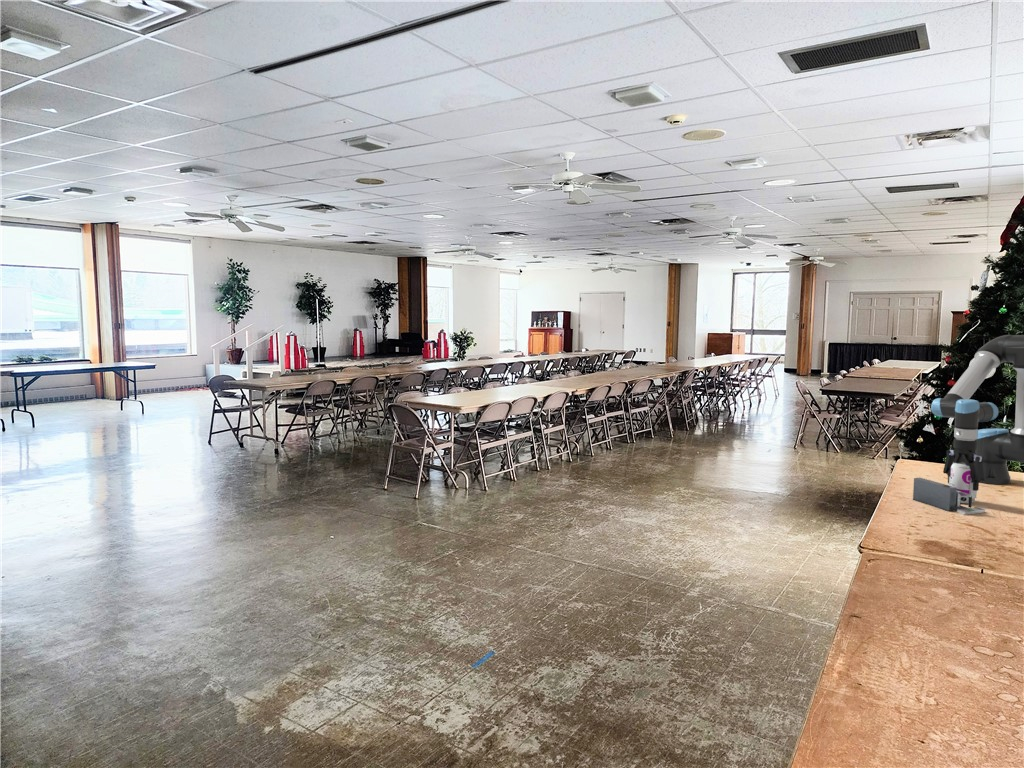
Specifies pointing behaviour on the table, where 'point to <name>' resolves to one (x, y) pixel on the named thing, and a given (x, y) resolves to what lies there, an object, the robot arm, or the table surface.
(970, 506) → the gauge plunger
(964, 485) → the supplement can
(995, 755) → the table surface
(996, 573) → the table surface
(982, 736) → the table surface
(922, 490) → the gauge housing
